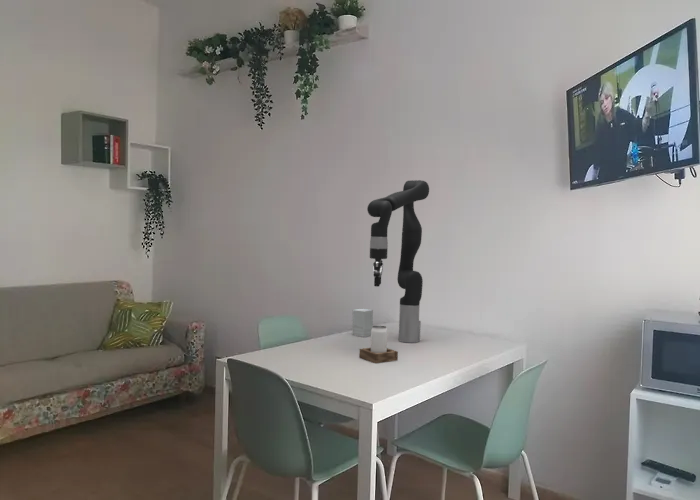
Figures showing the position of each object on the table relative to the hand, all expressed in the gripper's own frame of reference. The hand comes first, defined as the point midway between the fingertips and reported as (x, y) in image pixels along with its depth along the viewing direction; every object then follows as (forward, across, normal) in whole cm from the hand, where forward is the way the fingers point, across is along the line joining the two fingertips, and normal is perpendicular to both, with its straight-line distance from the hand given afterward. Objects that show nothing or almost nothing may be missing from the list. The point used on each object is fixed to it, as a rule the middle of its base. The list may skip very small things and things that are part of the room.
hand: (377, 285), depth 239 cm
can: (+27, +15, +2) cm, 31 cm away
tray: (+28, +15, +2) cm, 32 cm away
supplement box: (+28, -33, -9) cm, 44 cm away
